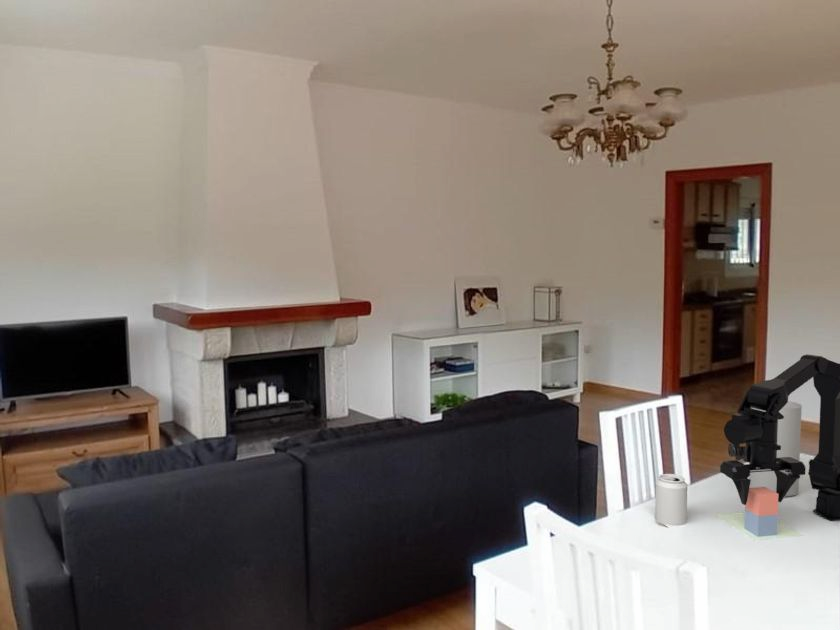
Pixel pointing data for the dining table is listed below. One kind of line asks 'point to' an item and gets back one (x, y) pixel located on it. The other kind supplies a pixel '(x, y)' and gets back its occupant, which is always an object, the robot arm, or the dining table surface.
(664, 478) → the can
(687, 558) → the dining table surface
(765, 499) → the red brick
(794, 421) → the gray cylinder
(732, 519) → the build board
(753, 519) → the blue brick
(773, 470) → the robot arm
